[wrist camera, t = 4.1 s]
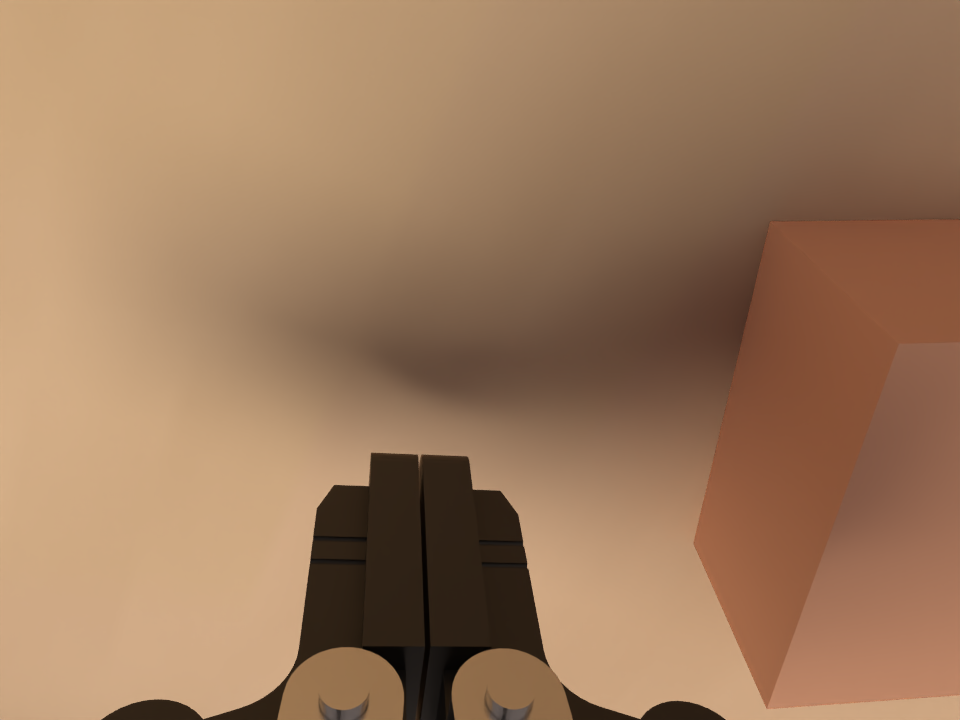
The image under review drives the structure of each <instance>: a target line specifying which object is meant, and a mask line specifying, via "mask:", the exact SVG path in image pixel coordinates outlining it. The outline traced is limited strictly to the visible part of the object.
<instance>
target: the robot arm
mask: <svg viewBox="0 0 960 720" xmlns="http://www.w3.org/2000/svg"><path fill="white" fill-rule="evenodd" d="M102 720H725V719H724V718H723V717H721V716H720V715H718V714H717V713H715V712H713V711H712V710H710V709H708V708H705V707H703V706H700V705H698V704H694V703H690V702H683V701H669V702H665V703H661V704H659V705H656V706H654V707H652V708H651V709H650V710H648V711H647V712H646V713H645V714H644V716H643V717H642V718H641V719H638V718H635V717H631V716H628V715H625V714H622V713H618V712H615V711H612V710H609V709H605V708H602V707H599V706H597V705H594V704H591V703H589V702H587V701H585V700H583V699H581V698H580V697H578V696H577V695H575V694H574V693H572V692H571V691H570V690H569V689H568V688H566V687H565V686H564V685H563V684H562V683H561V682H560V680H559V679H558V677H557V675H556V674H555V673H554V672H553V671H552V669H551V668H550V666H549V664H548V662H547V660H546V657H545V653H544V650H543V644H542V639H541V634H540V628H539V623H538V618H537V613H536V607H535V602H534V597H533V591H532V586H531V581H530V575H529V570H528V569H527V559H526V554H525V549H524V547H523V538H522V533H521V528H520V522H519V517H518V514H517V513H516V511H515V510H514V508H513V507H512V506H511V504H510V503H509V502H508V500H507V499H506V498H505V496H504V495H503V494H502V492H501V491H489V490H473V488H472V480H471V472H470V464H469V459H468V457H465V456H441V455H421V458H420V465H419V462H418V455H413V454H389V453H371V461H370V476H369V486H345V485H334V486H333V487H332V489H331V490H330V492H329V493H328V494H327V496H326V497H325V498H324V500H323V501H322V502H321V504H320V505H319V506H318V508H317V512H316V520H315V528H314V536H313V544H312V551H311V561H310V567H309V575H308V583H307V590H306V598H305V606H304V614H303V622H302V629H301V637H300V645H299V651H298V656H297V659H296V661H295V664H294V666H293V668H292V670H291V671H290V673H289V674H288V676H287V677H286V678H285V680H284V681H283V682H282V683H281V684H280V685H279V686H278V687H277V688H276V689H275V690H274V691H272V692H271V693H270V694H268V695H267V696H265V697H264V698H262V699H260V700H258V701H256V702H254V703H253V704H250V705H248V706H245V707H242V708H239V709H236V710H233V711H230V712H226V713H223V714H220V715H216V716H213V717H210V718H206V719H202V717H201V716H200V715H199V714H198V713H197V712H196V711H194V710H193V709H191V708H190V707H188V706H186V705H184V704H181V703H179V702H175V701H170V700H147V701H141V702H137V703H133V704H130V705H128V706H125V707H122V708H120V709H118V710H116V711H114V712H113V713H111V714H109V715H108V716H106V717H105V718H103V719H102Z"/></svg>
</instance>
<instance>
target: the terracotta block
mask: <svg viewBox="0 0 960 720" xmlns="http://www.w3.org/2000/svg"><path fill="white" fill-rule="evenodd" d="M694 546H695V548H696V550H697V552H698V555H699V557H700V559H701V561H702V564H703V566H704V568H705V570H706V573H707V575H708V577H709V579H710V582H711V584H712V586H713V588H714V591H715V593H716V595H717V597H718V600H719V602H720V604H721V607H722V609H723V611H724V613H725V616H726V618H727V620H728V622H729V625H730V627H731V629H732V631H733V634H734V636H735V638H736V640H737V643H738V645H739V647H740V649H741V652H742V654H743V656H744V658H745V661H746V663H747V665H748V668H749V670H750V672H751V674H752V677H753V679H754V681H755V683H756V686H757V688H758V690H759V692H760V695H761V697H762V699H763V701H764V704H765V706H766V708H767V709H775V708H788V707H802V706H816V705H830V704H844V703H857V702H871V701H885V700H899V699H913V698H927V697H940V696H954V695H960V219H938V220H852V221H770V224H769V228H768V232H767V237H766V241H765V245H764V249H763V253H762V258H761V262H760V266H759V270H758V274H757V279H756V283H755V287H754V291H753V296H752V300H751V304H750V308H749V312H748V317H747V321H746V325H745V329H744V333H743V338H742V342H741V346H740V350H739V354H738V359H737V363H736V367H735V371H734V375H733V380H732V384H731V388H730V392H729V396H728V401H727V405H726V409H725V413H724V417H723V422H722V426H721V430H720V434H719V438H718V443H717V447H716V451H715V455H714V459H713V464H712V468H711V472H710V476H709V480H708V485H707V489H706V493H705V497H704V502H703V506H702V510H701V514H700V518H699V523H698V527H697V531H696V535H695V539H694Z"/></svg>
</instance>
